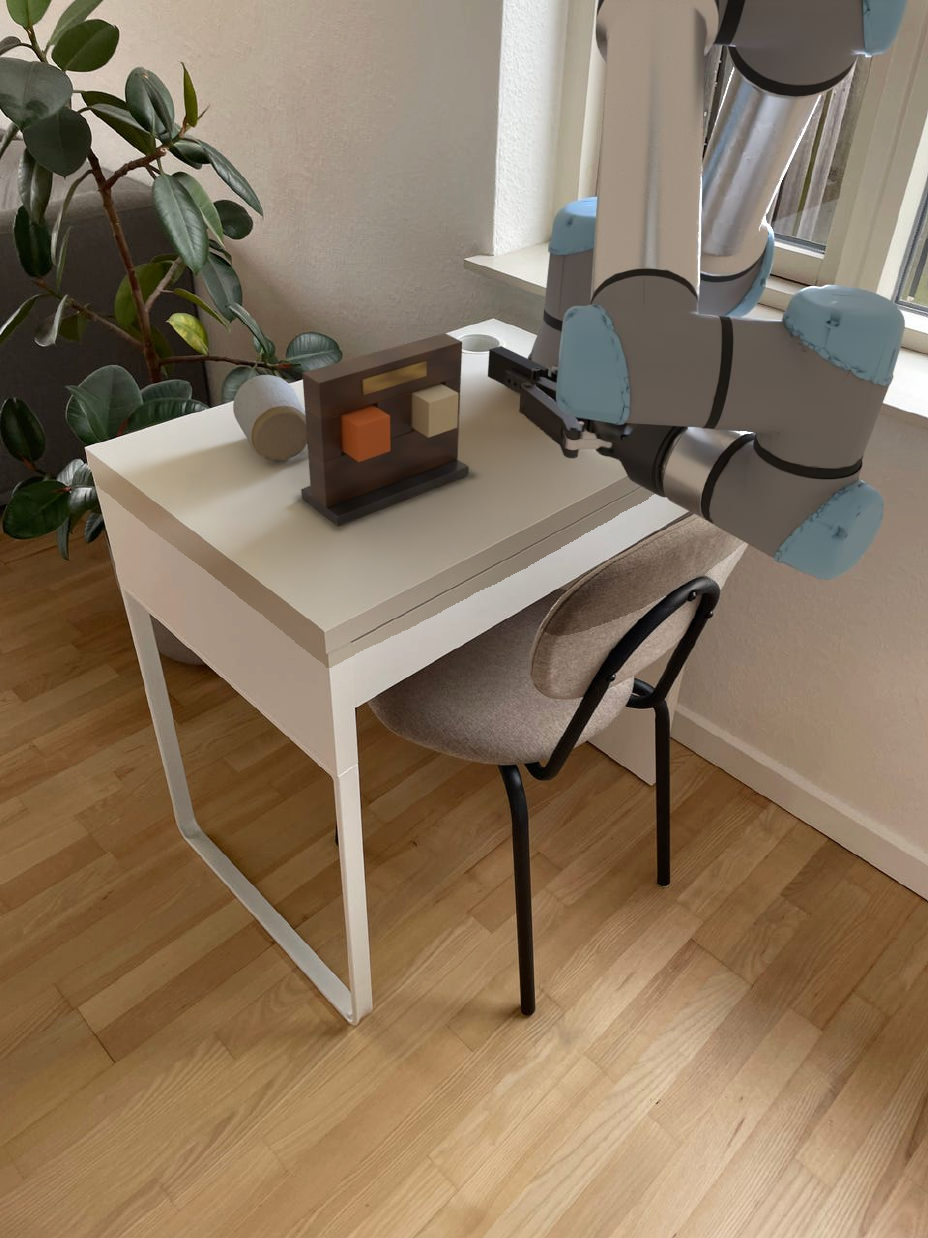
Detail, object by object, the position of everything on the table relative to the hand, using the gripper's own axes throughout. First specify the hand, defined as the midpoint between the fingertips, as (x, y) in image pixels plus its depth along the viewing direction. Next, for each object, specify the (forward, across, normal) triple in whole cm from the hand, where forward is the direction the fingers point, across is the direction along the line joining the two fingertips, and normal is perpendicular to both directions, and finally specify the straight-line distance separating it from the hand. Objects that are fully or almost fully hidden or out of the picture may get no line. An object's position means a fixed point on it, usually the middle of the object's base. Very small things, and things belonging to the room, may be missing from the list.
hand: (494, 361), depth 89 cm
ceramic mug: (+26, -8, -18) cm, 33 cm away
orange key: (+9, -9, -11) cm, 17 cm away
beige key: (+9, 0, -11) cm, 14 cm away
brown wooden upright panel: (+12, -4, -18) cm, 21 cm away
